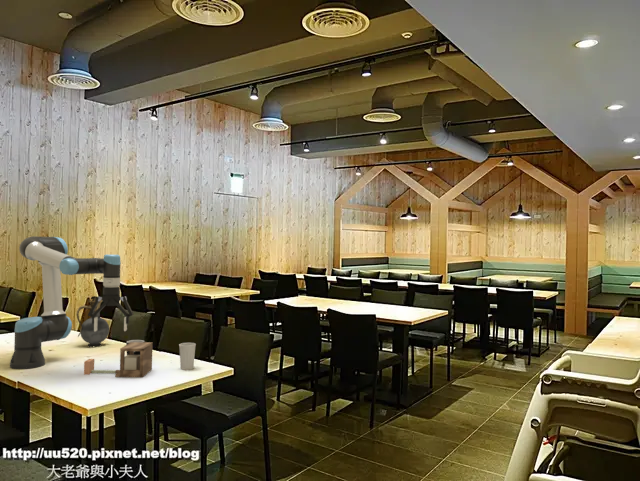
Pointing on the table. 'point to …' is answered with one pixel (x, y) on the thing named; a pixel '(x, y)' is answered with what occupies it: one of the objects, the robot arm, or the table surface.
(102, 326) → the pitcher
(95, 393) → the table surface
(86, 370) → the mismatched dumbbell
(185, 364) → the cup
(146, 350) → the cubby
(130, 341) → the mug
